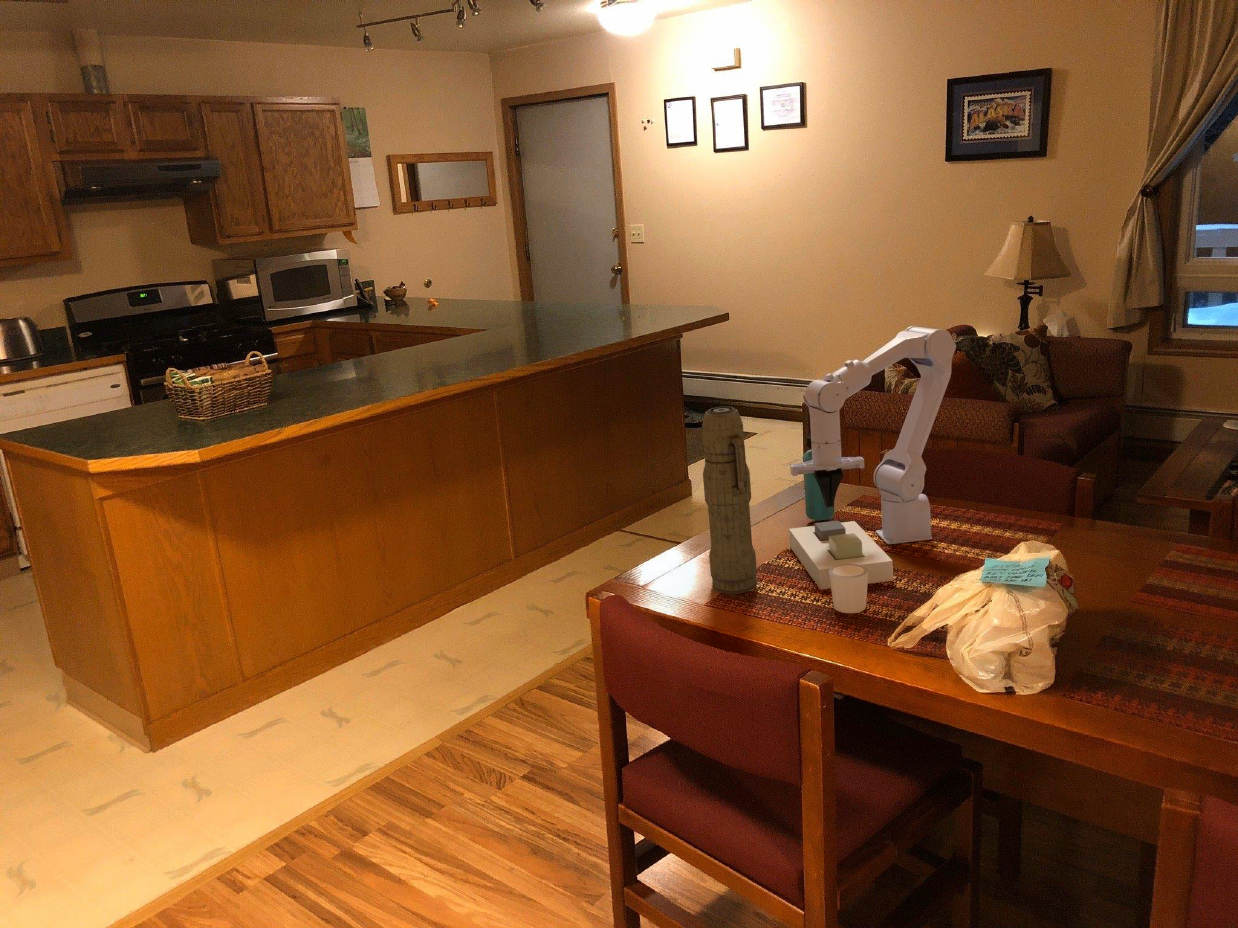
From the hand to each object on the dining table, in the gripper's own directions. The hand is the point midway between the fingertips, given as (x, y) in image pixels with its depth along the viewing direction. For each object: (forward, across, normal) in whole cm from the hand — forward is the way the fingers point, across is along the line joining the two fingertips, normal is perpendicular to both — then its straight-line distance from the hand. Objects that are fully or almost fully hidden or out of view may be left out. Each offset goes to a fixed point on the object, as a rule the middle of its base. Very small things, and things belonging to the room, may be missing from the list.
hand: (829, 505), depth 198 cm
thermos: (+11, -22, -10) cm, 26 cm away
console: (+10, 0, -5) cm, 12 cm away
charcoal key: (+7, 0, 0) cm, 7 cm away
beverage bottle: (+11, +3, +20) cm, 23 cm away
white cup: (+11, -4, -26) cm, 29 cm away
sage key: (+6, 0, -11) cm, 13 cm away
